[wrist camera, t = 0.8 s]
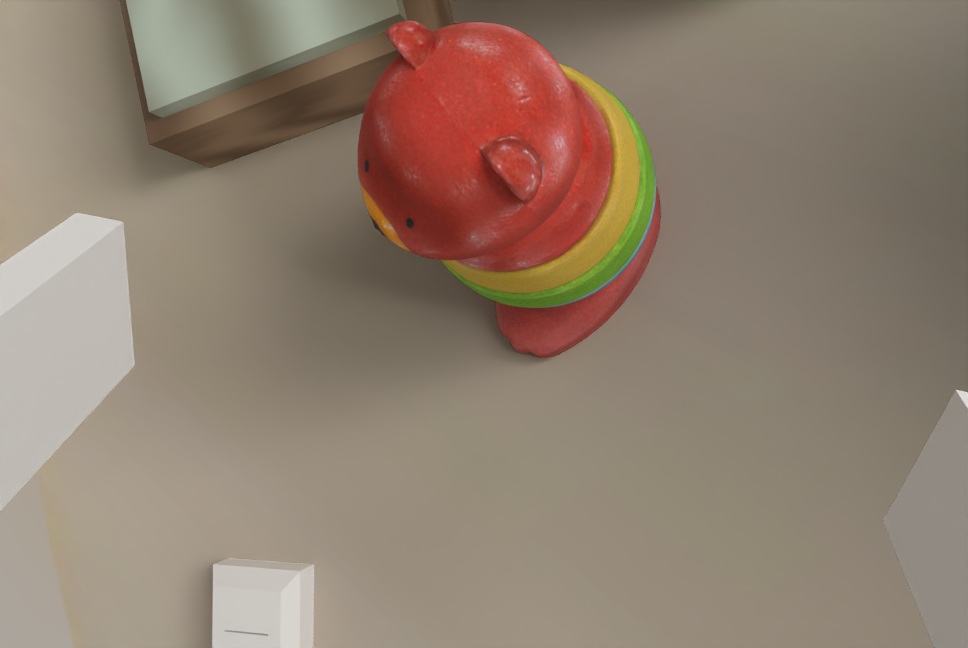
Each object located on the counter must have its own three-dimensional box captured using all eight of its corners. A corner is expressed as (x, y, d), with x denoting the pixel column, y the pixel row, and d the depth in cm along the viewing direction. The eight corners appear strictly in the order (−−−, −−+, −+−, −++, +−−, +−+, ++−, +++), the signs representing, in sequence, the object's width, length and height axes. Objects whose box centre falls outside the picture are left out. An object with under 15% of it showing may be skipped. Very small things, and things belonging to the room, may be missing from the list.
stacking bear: (417, 191, 41) (205, 70, 24) (587, 69, 39) (486, -157, 22) (529, 375, 39) (385, 384, 22) (714, 257, 37) (712, 167, 20)
